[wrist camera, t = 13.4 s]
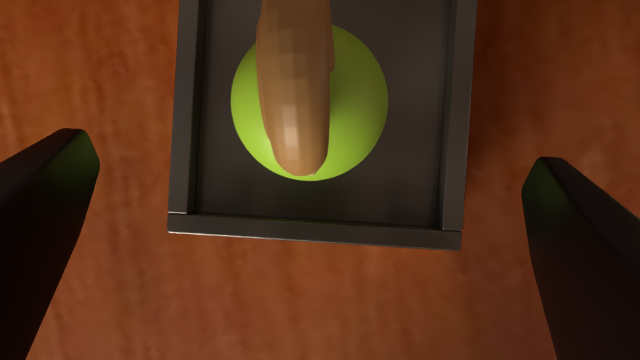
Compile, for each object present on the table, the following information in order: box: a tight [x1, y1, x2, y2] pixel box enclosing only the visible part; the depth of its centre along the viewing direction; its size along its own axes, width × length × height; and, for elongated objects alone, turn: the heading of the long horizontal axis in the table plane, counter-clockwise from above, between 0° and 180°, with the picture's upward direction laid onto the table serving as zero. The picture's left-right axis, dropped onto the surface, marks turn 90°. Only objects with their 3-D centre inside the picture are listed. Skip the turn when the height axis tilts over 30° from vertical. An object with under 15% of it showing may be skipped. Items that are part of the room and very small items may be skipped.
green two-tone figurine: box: [231, 0, 388, 181], centre depth 12 cm, size 5×6×12 cm
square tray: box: [167, 0, 478, 251], centre depth 19 cm, size 12×12×4 cm
